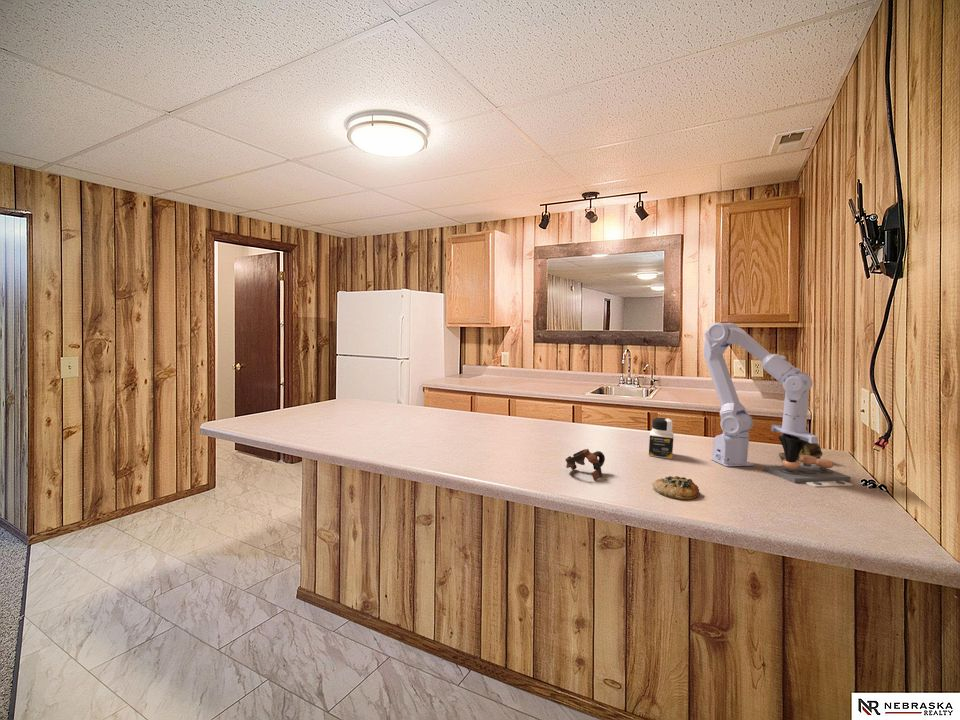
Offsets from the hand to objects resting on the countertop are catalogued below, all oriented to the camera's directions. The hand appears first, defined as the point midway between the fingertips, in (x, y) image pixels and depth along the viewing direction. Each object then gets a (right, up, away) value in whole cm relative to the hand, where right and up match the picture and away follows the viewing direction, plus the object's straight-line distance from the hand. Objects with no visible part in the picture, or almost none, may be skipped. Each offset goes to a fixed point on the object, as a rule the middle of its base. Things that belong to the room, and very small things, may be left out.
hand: (790, 461), depth 137 cm
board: (+5, -4, +1) cm, 7 cm away
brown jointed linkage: (-59, -3, -3) cm, 59 cm away
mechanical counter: (+13, -3, +17) cm, 21 cm away
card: (+7, -5, -6) cm, 10 cm away
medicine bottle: (-30, -2, +19) cm, 36 cm away
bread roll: (-39, -5, -15) cm, 43 cm away
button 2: (+11, -3, +2) cm, 11 cm away
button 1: (0, -3, 0) cm, 3 cm away
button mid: (+5, -1, +1) cm, 6 cm away
